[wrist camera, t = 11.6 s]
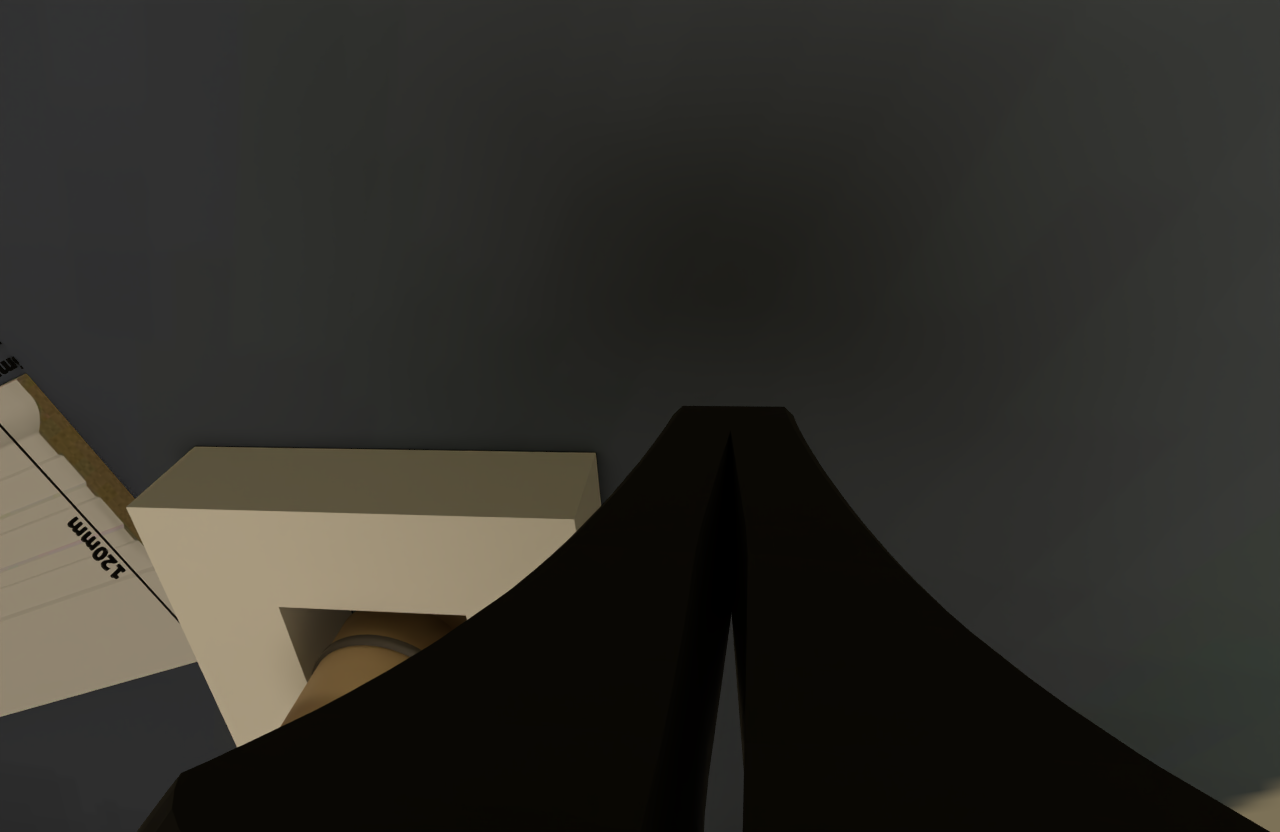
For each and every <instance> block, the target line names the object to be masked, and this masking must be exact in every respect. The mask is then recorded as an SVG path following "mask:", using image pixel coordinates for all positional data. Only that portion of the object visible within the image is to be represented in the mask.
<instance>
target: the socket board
mask: <svg viewBox="0 0 1280 832" xmlns="http://www.w3.org/2000/svg"><path fill="white" fill-rule="evenodd" d="M600 506H601V499H600V489H599V480H598V470H597V460H596V453H577V452H512V451H448V450H383V449H318V448H254V447H194V448H193V449H191V450H190V451H189V452H188V453H187V454H186V455H185V456H184V457H182V458H181V459H180V460H179V461H178V462H177V463H176V464H174V465H173V466H172V467H171V468H170V469H169V470H168V471H166V472H165V473H164V474H163V475H162V476H161V477H160V478H158V479H157V480H156V481H155V482H154V483H153V484H152V485H151V486H149V487H148V488H147V489H146V490H145V491H144V492H143V493H141V494H140V495H139V496H138V497H137V498H136V499H135V500H133V501H132V502H131V503H130V504H129V505H128V506H127V507H126V508H127V511H128V513H129V515H130V517H131V519H132V521H133V524H134V526H135V528H136V530H137V532H138V534H139V536H140V539H141V541H142V543H143V545H144V547H145V549H146V552H147V554H148V556H149V558H150V560H151V562H152V564H153V567H154V569H155V571H156V573H157V575H158V577H159V580H160V582H161V584H162V586H163V588H164V590H165V593H166V595H167V597H168V599H169V601H170V603H171V605H172V608H173V610H174V612H175V614H176V616H177V618H178V621H179V623H180V625H181V627H182V629H183V631H184V633H185V636H186V638H187V640H188V642H189V644H190V646H191V649H192V651H193V653H194V655H195V657H196V659H197V662H198V664H199V666H200V668H201V670H202V672H203V674H204V677H205V679H206V681H207V683H208V685H209V687H210V690H211V692H212V694H213V696H214V698H215V700H216V702H217V705H218V707H219V709H220V711H221V713H222V715H223V718H224V720H225V722H226V724H227V726H228V728H229V731H230V733H231V735H232V737H233V739H234V741H235V743H236V746H237V747H239V746H241V745H244V744H246V743H248V742H250V741H252V740H254V739H256V738H258V737H260V736H262V735H264V734H267V733H269V732H271V731H273V730H275V729H277V728H279V727H280V726H281V725H282V723H283V721H284V720H285V718H286V716H287V715H288V713H289V712H290V710H291V708H292V707H293V705H294V704H295V702H296V700H297V699H298V697H299V695H300V694H301V692H302V691H303V689H304V687H305V686H306V684H307V683H308V681H309V679H310V678H311V674H312V669H313V667H314V665H315V663H316V661H317V659H318V658H319V656H320V655H321V653H322V652H323V651H324V649H325V648H327V647H328V646H329V645H330V644H332V642H333V641H334V639H335V637H336V636H337V634H338V632H339V631H340V629H341V628H342V626H343V624H344V623H345V621H346V620H347V619H348V617H349V616H350V615H351V614H352V612H351V610H356V611H378V612H401V613H423V614H445V615H466V618H467V620H468V619H469V618H471V617H472V616H473V615H475V614H476V613H478V612H479V611H481V610H482V609H484V608H485V607H486V606H488V605H489V604H491V603H492V602H494V601H495V600H497V599H498V598H499V597H501V596H502V595H504V594H505V593H506V592H508V591H509V590H510V589H512V588H513V587H514V586H515V585H517V584H518V583H519V582H520V581H521V580H523V579H524V578H525V577H526V576H528V575H529V574H530V573H531V572H532V571H534V570H535V569H536V568H537V567H538V566H539V565H541V564H542V563H543V562H544V561H545V560H546V559H547V558H549V557H550V556H551V555H552V554H553V553H554V552H555V551H556V550H557V549H558V548H560V547H561V546H562V545H563V544H564V543H565V542H566V541H567V540H568V539H569V538H570V537H571V536H572V535H573V534H574V533H575V532H576V531H577V530H578V529H579V528H580V527H581V526H582V525H583V524H584V523H585V522H586V521H587V520H588V519H589V518H590V517H591V516H592V515H593V514H594V513H595V512H596V511H597V510H598V508H599V507H600Z"/></svg>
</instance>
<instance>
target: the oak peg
mask: <svg viewBox="0 0 1280 832" xmlns="http://www.w3.org/2000/svg"><path fill="white" fill-rule="evenodd" d="M466 620H467V618H466V615H445V614H423V613H401V612H378V611H355V612H354V613H353V614H351V615H350V616H349V617H348V619H347V620H346V621H345V623H344V624H343V626H342V628H341V629H340V631H339V632H338V634H337V636H336V637H335V639H334V641H333V642H332V644H330V645H329V646H328V647H327V648H325V649H324V651H323V652H322V653H321V655H320V656H319V658H318V659H317V661H316V663H315V665H314V667H313V669H312V674H311V678H310V679H309V681H308V683H307V684H306V686H305V687H304V689H303V691H302V692H301V694H300V695H299V697H298V699H297V700H296V702H295V704H294V705H293V707H292V708H291V710H290V712H289V713H288V715H287V716H286V718H285V720H284V721H283V723H282V725H281V726H283V725H285V724H287V723H290V722H292V721H294V720H296V719H298V718H300V717H302V716H304V715H306V714H308V713H310V712H312V711H314V710H316V709H318V708H320V707H322V706H324V705H326V704H328V703H330V702H332V701H333V700H335V699H337V698H339V697H341V696H343V695H345V694H347V693H348V692H350V691H352V690H354V689H356V688H357V687H359V686H361V685H363V684H365V683H366V682H368V681H370V680H372V679H373V678H375V677H377V676H379V675H381V674H382V673H384V672H386V671H388V670H390V669H391V668H393V667H395V666H396V665H398V664H400V663H401V662H403V661H405V660H406V659H408V658H410V657H411V656H413V655H414V654H416V653H418V652H419V651H421V650H423V649H424V648H426V647H428V646H429V645H431V644H432V643H434V642H436V641H437V640H439V639H440V638H442V637H443V636H445V635H446V634H447V633H449V632H450V631H452V630H453V629H455V628H456V627H458V626H459V625H460V624H462V623H463V622H465V621H466ZM281 726H280V727H281Z"/></svg>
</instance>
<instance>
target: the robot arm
mask: <svg viewBox="0 0 1280 832" xmlns="http://www.w3.org/2000/svg"><path fill="white" fill-rule="evenodd" d="M731 612H732V624H733V637H734V650H735V663H736V676H737V689H738V701H739V714H740V727H741V740H742V752H743V765H744V802H743V832H1269V831H1268V830H1266V829H1264V828H1263V827H1261V826H1259V825H1257V824H1256V823H1254V822H1252V821H1251V820H1249V819H1247V818H1245V817H1244V816H1242V815H1240V814H1239V813H1237V812H1235V811H1234V810H1232V809H1230V808H1229V807H1227V806H1225V805H1223V804H1222V803H1220V802H1218V801H1217V800H1215V799H1213V798H1212V797H1210V796H1208V795H1206V794H1205V793H1203V792H1201V791H1200V790H1198V789H1196V788H1195V787H1193V786H1191V785H1189V784H1188V783H1186V782H1184V781H1183V780H1181V779H1179V778H1178V777H1176V776H1174V775H1172V774H1171V773H1169V772H1167V771H1166V770H1164V769H1162V768H1161V767H1159V766H1157V765H1156V764H1154V763H1153V762H1151V761H1149V760H1148V759H1146V758H1145V757H1143V756H1142V755H1140V754H1138V753H1137V752H1135V751H1134V750H1132V749H1131V748H1129V747H1128V746H1126V745H1125V744H1124V743H1122V742H1121V741H1119V740H1118V739H1116V738H1115V737H1113V736H1112V735H1110V734H1109V733H1107V732H1106V731H1104V730H1103V729H1101V728H1100V727H1098V726H1097V725H1095V724H1094V723H1092V722H1091V721H1089V720H1088V719H1086V718H1085V717H1083V716H1082V715H1080V714H1079V713H1077V712H1076V711H1074V710H1073V709H1071V708H1070V707H1068V706H1067V705H1066V704H1064V703H1063V702H1062V701H1060V700H1059V699H1057V698H1056V697H1055V696H1053V695H1052V694H1050V693H1049V692H1048V691H1046V690H1045V689H1044V688H1042V687H1041V686H1039V685H1038V684H1037V683H1035V682H1034V681H1033V680H1031V679H1030V678H1029V677H1027V676H1026V675H1025V674H1023V673H1022V672H1021V671H1020V670H1018V669H1017V668H1016V667H1015V666H1013V665H1012V664H1011V663H1010V662H1008V661H1007V660H1006V659H1004V658H1003V657H1002V656H1001V655H999V654H998V653H997V652H996V651H994V650H993V649H992V648H991V647H989V646H988V645H987V644H985V643H984V642H983V641H982V640H980V639H979V638H978V637H977V636H975V635H974V634H973V633H972V632H970V631H969V630H968V629H967V628H966V627H964V626H963V625H962V624H961V623H960V622H959V621H957V620H956V619H955V618H954V617H953V616H952V615H951V614H950V613H948V612H947V611H946V610H945V609H944V608H943V607H942V606H941V605H940V604H939V603H938V602H937V601H936V600H935V599H934V598H933V597H932V596H931V595H929V594H928V593H927V592H926V591H925V590H924V589H923V588H922V587H921V586H920V585H919V584H918V583H917V582H916V581H915V580H914V579H913V578H912V577H911V576H910V575H909V574H908V573H907V572H906V571H905V570H904V569H903V568H902V566H901V565H900V564H899V563H898V562H897V561H896V560H895V559H894V558H893V557H892V556H891V555H890V553H889V552H888V551H887V550H886V549H885V548H884V547H883V545H882V544H881V543H880V542H879V541H878V540H877V538H876V537H875V536H874V535H873V534H872V533H871V532H870V530H869V529H868V528H867V527H866V526H865V524H864V523H863V522H862V521H861V519H860V518H859V517H858V516H857V514H856V513H855V512H854V511H853V509H852V508H851V507H850V506H849V504H848V503H847V501H846V500H845V499H844V497H843V496H842V495H841V493H840V492H839V491H838V489H837V488H836V486H835V485H834V484H833V482H832V481H831V480H830V478H829V477H828V475H827V474H826V472H825V471H824V470H823V468H822V467H821V465H820V464H819V462H818V460H817V459H816V457H815V456H814V454H813V452H812V451H811V449H810V448H809V446H808V444H807V442H806V441H805V439H804V437H803V435H802V434H801V432H800V430H799V428H798V426H797V424H796V421H795V419H794V416H793V415H792V414H791V413H790V412H789V411H788V410H787V409H786V408H785V407H738V406H682V407H681V408H680V409H679V410H678V411H677V412H676V413H675V414H674V415H673V416H672V418H671V419H670V421H669V422H668V424H667V425H666V427H665V428H664V430H663V431H662V433H661V434H660V435H659V437H658V438H657V439H656V441H655V442H654V444H653V445H652V446H651V447H650V449H649V450H648V451H647V453H646V454H645V455H644V457H643V458H642V459H641V460H640V462H639V463H638V464H637V465H636V466H635V468H634V469H633V470H632V471H631V472H630V474H629V475H628V476H627V477H626V478H625V479H624V481H623V482H622V483H621V484H620V485H619V487H618V488H617V489H616V490H615V491H614V492H613V494H612V495H611V496H610V497H609V498H608V499H607V500H606V501H605V502H604V503H603V504H602V505H601V506H600V507H599V508H598V510H597V511H596V512H595V513H594V514H593V515H592V516H591V517H590V518H589V519H588V520H587V521H586V522H585V523H584V524H583V525H582V526H581V527H580V528H579V529H578V530H577V531H576V532H575V533H574V534H573V535H572V536H571V537H570V538H569V539H568V540H567V541H566V542H565V543H564V544H563V545H562V546H561V547H560V548H558V549H557V550H556V551H555V552H554V553H553V554H552V555H551V556H550V557H549V558H547V559H546V560H545V561H544V562H543V563H542V564H541V565H539V566H538V567H537V568H536V569H535V570H534V571H532V572H531V573H530V574H529V575H528V576H526V577H525V578H524V579H523V580H521V581H520V582H519V583H518V584H517V585H515V586H514V587H513V588H512V589H510V590H509V591H508V592H506V593H505V594H504V595H502V596H501V597H499V598H498V599H497V600H495V601H494V602H492V603H491V604H489V605H488V606H486V607H485V608H484V609H482V610H481V611H479V612H478V613H476V614H475V615H473V616H472V617H471V618H469V619H468V620H466V621H465V622H463V623H462V624H460V625H459V626H458V627H456V628H455V629H453V630H452V631H450V632H449V633H447V634H446V635H445V636H443V637H442V638H440V639H439V640H437V641H436V642H434V643H432V644H431V645H429V646H428V647H426V648H424V649H423V650H421V651H419V652H418V653H416V654H414V655H413V656H411V657H410V658H408V659H406V660H405V661H403V662H401V663H400V664H398V665H396V666H395V667H393V668H391V669H390V670H388V671H386V672H384V673H382V674H381V675H379V676H377V677H375V678H373V679H372V680H370V681H368V682H366V683H365V684H363V685H361V686H359V687H357V688H356V689H354V690H352V691H350V692H348V693H347V694H345V695H343V696H341V697H339V698H337V699H335V700H333V701H332V702H330V703H328V704H326V705H324V706H322V707H320V708H318V709H316V710H314V711H312V712H310V713H308V714H306V715H304V716H302V717H300V718H298V719H296V720H294V721H292V722H290V723H287V724H285V725H283V726H281V727H279V728H277V729H275V730H273V731H271V732H269V733H267V734H264V735H262V736H260V737H258V738H256V739H254V740H252V741H250V742H248V743H246V744H244V745H241V746H239V747H237V748H235V749H233V750H231V751H229V752H227V753H225V754H223V755H221V756H218V757H216V758H214V759H212V760H210V761H208V762H205V763H203V764H201V765H199V766H196V767H194V768H192V769H189V770H187V771H185V772H183V773H181V774H180V775H179V777H178V778H177V779H176V780H175V782H174V783H173V784H172V786H171V787H170V788H169V789H168V791H167V792H166V793H165V795H164V796H163V797H162V799H161V800H160V801H159V803H158V804H157V805H156V807H155V808H154V809H153V811H152V812H151V813H150V815H149V816H148V817H147V819H146V820H145V821H144V823H143V824H142V825H141V827H140V828H139V829H138V831H137V832H704V817H705V806H706V796H707V786H708V776H709V769H710V762H711V755H712V748H713V741H714V734H715V726H716V719H717V712H718V705H719V698H720V691H721V684H722V677H723V670H724V663H725V656H726V649H727V641H728V634H729V627H730V620H731Z"/></svg>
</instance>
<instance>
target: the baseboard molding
mask: <svg viewBox="0 0 1280 832" xmlns="http://www.w3.org/2000/svg"><path fill="white" fill-rule="evenodd" d="M0 344H1V342H0ZM12 359H13V361H14V362H15V363H17V364H19V362H18V361H17V360H16V359H15V358H14V357H12ZM6 360H7V362H8V363H9V364H10V365H11V367H9V366H8V364H7V363H6V362H5V361H2V362H0V363H1V364H2V365H3V366H4V367H5V368H6V370H4V369H3V368H2V367H1V366H0V372H1V373H2V374H6V373H8V371H12V370H13V369H15V368H17V366H16V364H15V363H14V362H13V361H12V360H11V359H10V358H8V359H6ZM20 367H21V368H22V369H23V367H22V366H20ZM1 376H2V375H1V374H0V377H1ZM133 500H135V498H134V497H133V496H132V495H131V494H130V493H129V491H128V490H127V489H126V488H125V487H124V486H123V485H122V483H121V482H120V481H119V480H118V479H117V478H116V476H115V475H114V474H113V473H112V472H111V471H110V470H109V468H108V467H107V466H106V465H105V464H104V463H103V461H102V460H101V459H100V458H99V457H98V456H97V455H96V453H95V452H94V451H93V450H92V449H91V448H90V446H89V445H88V444H87V443H86V442H85V441H84V439H83V438H82V437H81V436H80V435H79V434H78V433H77V431H76V430H75V429H74V428H73V427H72V426H71V424H70V423H69V422H68V421H67V420H66V419H65V418H64V416H63V415H62V414H61V413H60V412H59V411H58V409H57V408H56V407H55V406H54V405H53V404H52V403H51V401H50V400H49V399H48V398H47V397H46V396H45V394H44V393H43V392H42V391H41V390H40V389H39V387H38V386H37V385H36V384H35V383H34V382H33V381H32V379H31V378H30V377H29V376H28V375H27V374H24V375H22V376H19V377H17V378H15V379H13V380H11V381H9V382H7V383H5V384H3V385H0V717H1V716H5V715H8V714H12V713H15V712H19V711H23V710H26V709H30V708H33V707H37V706H40V705H44V704H48V703H51V702H55V701H58V700H62V699H65V698H69V697H72V696H76V695H80V694H83V693H87V692H90V691H94V690H97V689H101V688H105V687H108V686H112V685H115V684H119V683H122V682H126V681H130V680H133V679H137V678H140V677H144V676H147V675H151V674H154V673H158V672H162V671H165V670H169V669H172V668H176V667H179V666H183V665H187V664H190V663H194V662H197V659H196V657H195V655H194V653H193V651H192V649H191V646H190V644H189V642H188V640H187V638H186V636H185V633H184V631H183V629H182V627H181V625H180V623H179V621H178V618H177V616H176V614H175V612H174V610H173V608H172V605H171V603H170V601H169V599H168V597H167V595H166V593H165V590H164V588H163V586H162V584H161V582H160V580H159V577H158V575H157V573H156V571H155V569H154V567H153V564H152V562H151V560H150V558H149V556H148V554H147V552H146V549H145V547H144V545H143V543H142V541H141V539H140V536H139V534H138V532H137V530H136V528H135V526H134V524H133V521H132V519H131V517H130V515H129V513H128V511H127V508H126V507H127V506H128V505H129V504H130V503H131V502H132V501H133Z"/></svg>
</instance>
